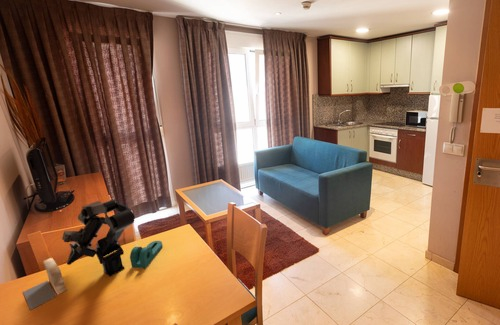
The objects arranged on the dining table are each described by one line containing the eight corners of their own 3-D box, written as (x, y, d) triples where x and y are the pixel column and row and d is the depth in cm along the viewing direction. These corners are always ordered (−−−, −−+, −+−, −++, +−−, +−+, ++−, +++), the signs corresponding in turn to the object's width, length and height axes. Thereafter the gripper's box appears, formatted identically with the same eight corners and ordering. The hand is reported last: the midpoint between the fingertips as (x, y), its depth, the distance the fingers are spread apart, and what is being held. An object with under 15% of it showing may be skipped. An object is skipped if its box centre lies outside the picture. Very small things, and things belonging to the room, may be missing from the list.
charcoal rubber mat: (47, 280, 108) (47, 280, 108) (56, 296, 100) (56, 296, 99) (23, 292, 103) (23, 291, 103) (30, 310, 94) (30, 309, 94)
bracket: (145, 268, 113) (143, 253, 111) (132, 267, 114) (128, 252, 112) (165, 244, 130) (162, 231, 128) (152, 244, 131) (150, 230, 129)
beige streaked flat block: (58, 277, 110) (51, 257, 108) (66, 290, 103) (60, 269, 100) (49, 281, 108) (43, 261, 105) (57, 294, 101) (50, 273, 98)
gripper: (66, 217, 112) (42, 251, 108) (80, 230, 100) (54, 269, 96) (90, 225, 120) (68, 257, 115) (105, 238, 108) (82, 275, 103)
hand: (68, 264), depth 107 cm, fingers closed
